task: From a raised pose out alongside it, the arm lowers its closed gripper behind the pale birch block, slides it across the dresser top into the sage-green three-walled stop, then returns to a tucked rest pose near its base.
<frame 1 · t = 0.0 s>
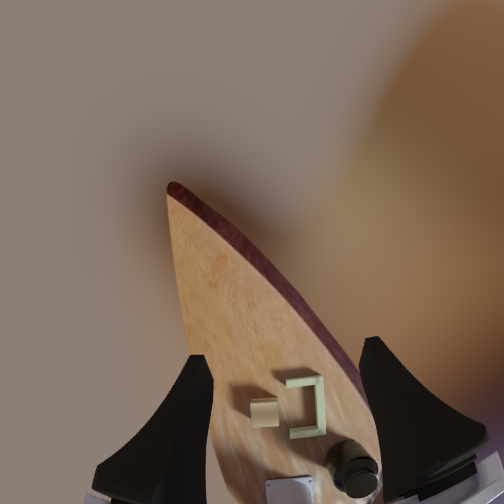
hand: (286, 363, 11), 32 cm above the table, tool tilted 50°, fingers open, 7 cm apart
supplement bottle: (344, 455, 34), on the table
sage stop: (303, 405, 38), on the table
birch block: (265, 409, 39), on the table
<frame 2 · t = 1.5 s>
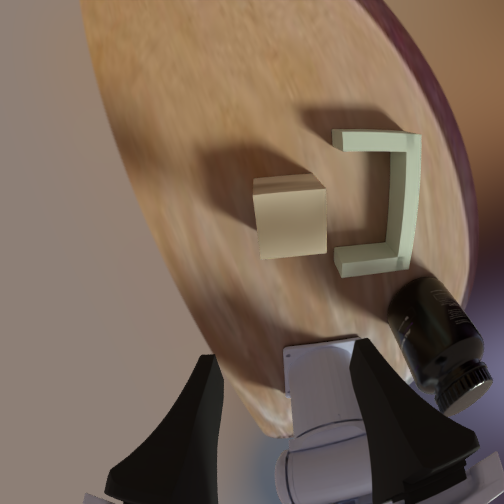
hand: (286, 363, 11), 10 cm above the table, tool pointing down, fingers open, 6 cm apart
supplement bottle: (414, 302, 23), on the table
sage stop: (366, 197, 18), on the table
birch block: (285, 203, 19), on the table
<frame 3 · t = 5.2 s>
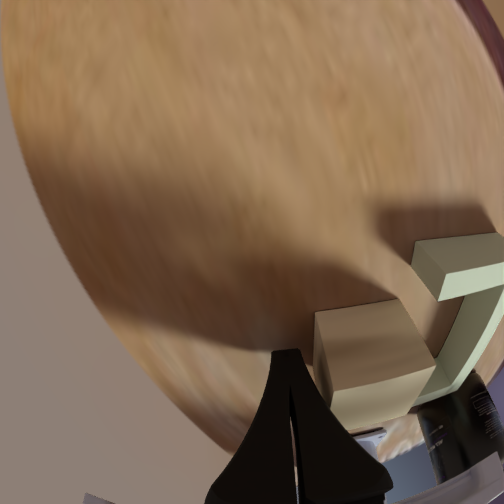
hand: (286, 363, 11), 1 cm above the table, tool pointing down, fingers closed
supplement bottle: (446, 392, 17), on the table
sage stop: (432, 321, 12), on the table
birch block: (354, 336, 12), on the table, touching gripper
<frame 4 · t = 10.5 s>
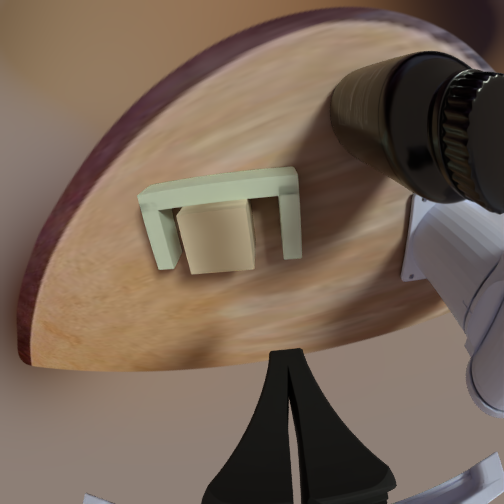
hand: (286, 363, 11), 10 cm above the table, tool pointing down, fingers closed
supplement bottle: (375, 115, 15), on the table
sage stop: (225, 216, 19), on the table
birch block: (224, 217, 19), on the table
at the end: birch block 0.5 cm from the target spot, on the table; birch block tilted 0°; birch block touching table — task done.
